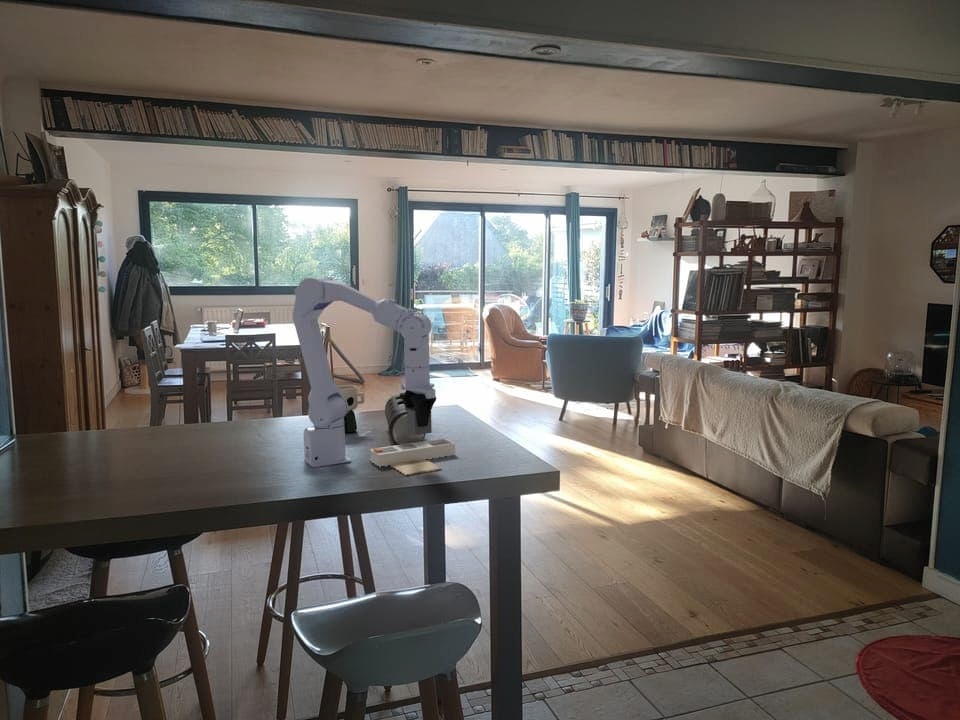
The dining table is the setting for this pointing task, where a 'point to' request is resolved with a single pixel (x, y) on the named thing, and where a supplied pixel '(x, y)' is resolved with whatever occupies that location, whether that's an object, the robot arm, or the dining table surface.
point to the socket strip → (412, 452)
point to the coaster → (415, 467)
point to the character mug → (351, 405)
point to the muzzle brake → (399, 422)
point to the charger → (413, 425)
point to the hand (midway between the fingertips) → (418, 424)
